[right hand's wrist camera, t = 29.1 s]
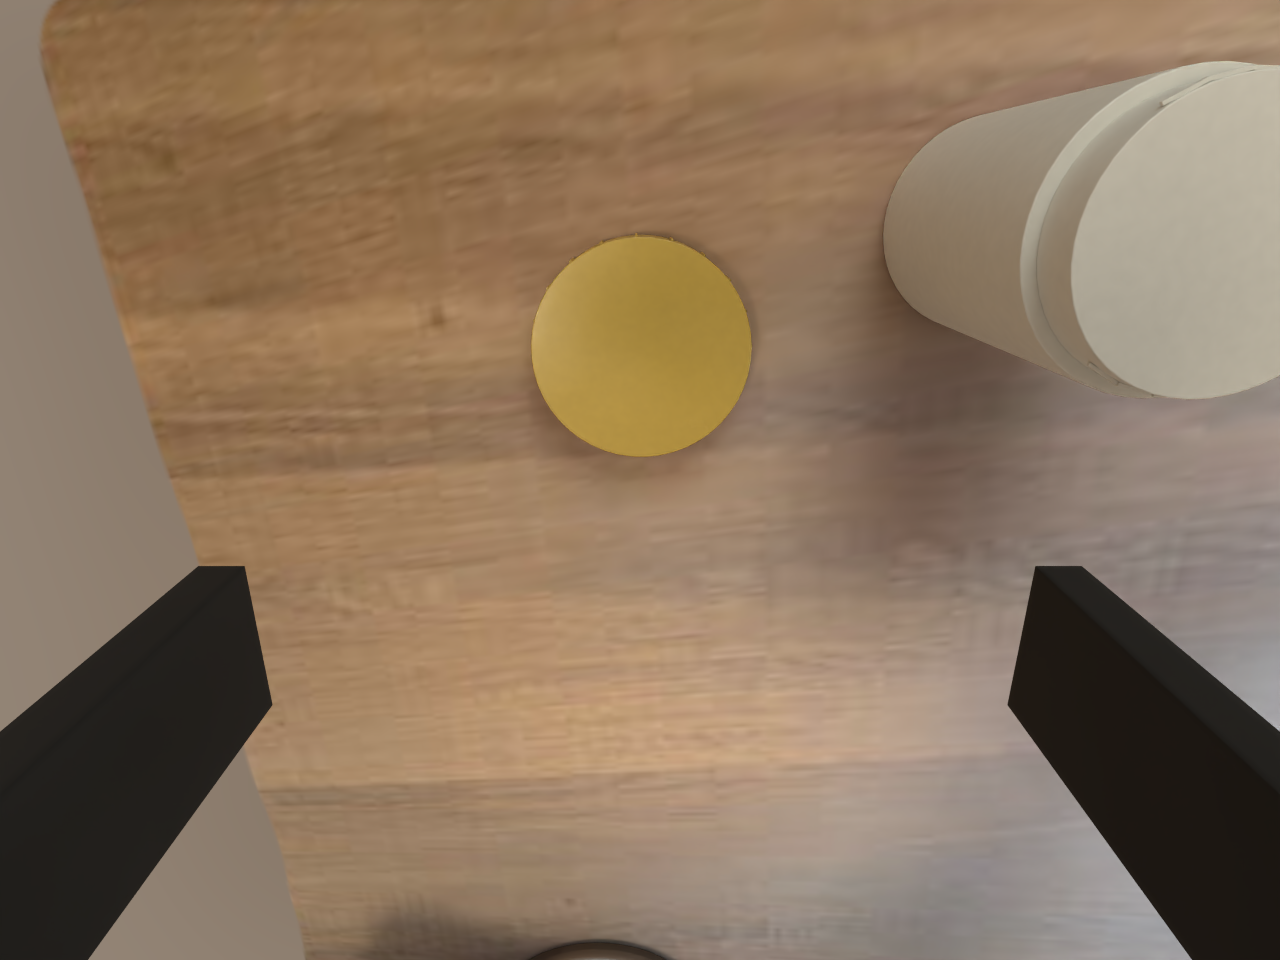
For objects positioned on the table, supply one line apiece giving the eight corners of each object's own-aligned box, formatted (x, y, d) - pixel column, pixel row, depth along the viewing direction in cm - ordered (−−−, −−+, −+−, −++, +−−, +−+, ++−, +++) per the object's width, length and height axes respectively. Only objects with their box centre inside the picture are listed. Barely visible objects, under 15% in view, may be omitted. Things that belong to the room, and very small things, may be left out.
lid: (493, 350, 38) (485, 359, 36) (633, 185, 35) (633, 184, 33) (647, 482, 40) (647, 498, 38) (789, 337, 37) (798, 345, 35)
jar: (1115, 267, 36) (1444, 316, 21) (926, 363, 38) (1111, 470, 23) (1052, 69, 33) (1381, -33, 19) (850, 182, 35) (1005, 171, 20)
